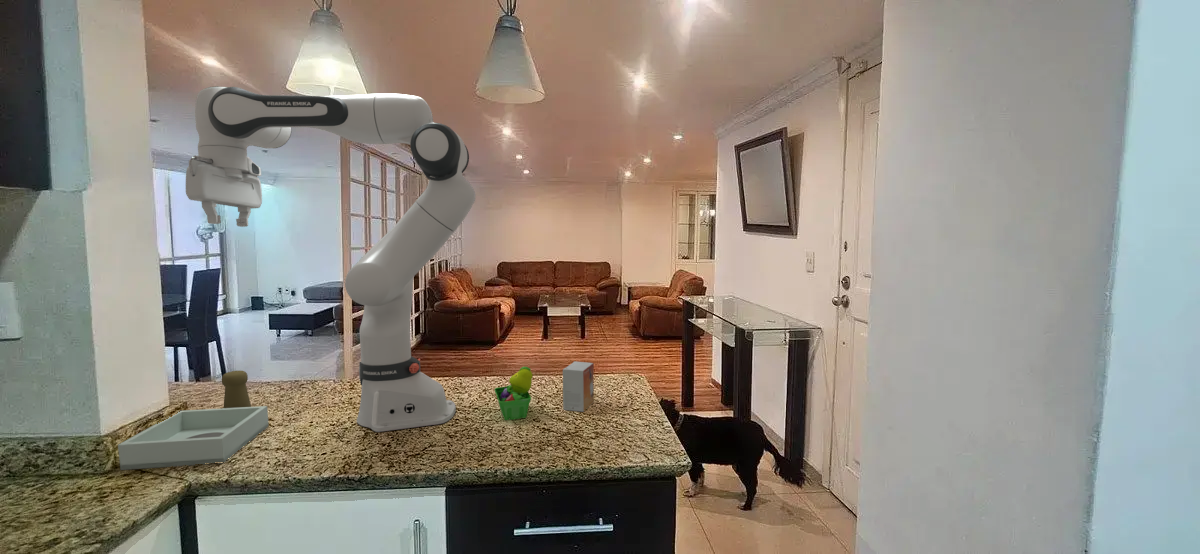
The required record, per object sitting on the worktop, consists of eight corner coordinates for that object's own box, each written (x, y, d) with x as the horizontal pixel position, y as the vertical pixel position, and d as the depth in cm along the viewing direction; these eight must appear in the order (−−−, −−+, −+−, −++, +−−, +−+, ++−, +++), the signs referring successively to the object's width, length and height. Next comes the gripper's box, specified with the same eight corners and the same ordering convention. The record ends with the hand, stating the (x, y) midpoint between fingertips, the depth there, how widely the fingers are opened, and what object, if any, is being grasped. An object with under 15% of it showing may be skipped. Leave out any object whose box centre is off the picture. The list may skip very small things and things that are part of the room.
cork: (237, 421, 122) (233, 376, 121) (216, 419, 123) (212, 374, 122) (258, 411, 128) (255, 368, 127) (238, 410, 129) (234, 367, 128)
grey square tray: (268, 427, 118) (267, 406, 118) (224, 463, 100) (222, 438, 100) (182, 432, 115) (180, 410, 115) (120, 470, 98) (117, 444, 97)
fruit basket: (494, 407, 130) (493, 363, 129) (528, 403, 133) (528, 360, 132) (499, 423, 120) (498, 376, 118) (537, 418, 122) (536, 372, 121)
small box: (583, 412, 126) (583, 371, 125) (562, 410, 128) (562, 369, 127) (594, 402, 134) (594, 362, 133) (574, 399, 135) (574, 360, 134)
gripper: (205, 152, 104) (211, 221, 105) (265, 170, 125) (270, 227, 125) (173, 154, 104) (178, 222, 104) (238, 171, 124) (243, 228, 125)
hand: (229, 225), depth 115 cm, fingers open, 8 cm apart
